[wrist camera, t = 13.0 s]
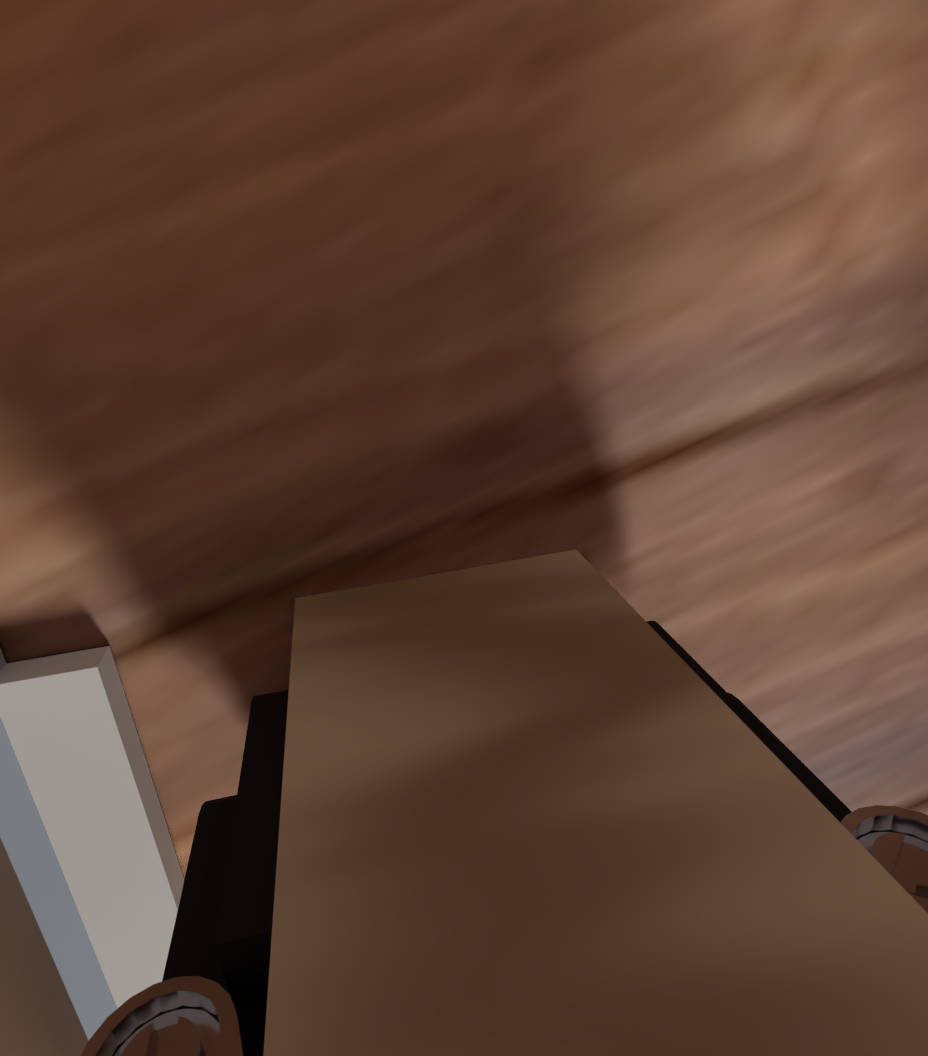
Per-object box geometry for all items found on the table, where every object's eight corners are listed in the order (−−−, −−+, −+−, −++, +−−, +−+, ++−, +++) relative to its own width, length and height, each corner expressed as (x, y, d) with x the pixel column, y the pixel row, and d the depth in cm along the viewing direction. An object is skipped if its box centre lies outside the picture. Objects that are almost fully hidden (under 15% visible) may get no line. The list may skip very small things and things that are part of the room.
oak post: (576, 549, 11) (1090, 1081, 4) (585, 772, 13) (957, 1451, 5) (295, 598, 10) (240, 1367, 3) (342, 826, 12) (382, 1693, 5)
